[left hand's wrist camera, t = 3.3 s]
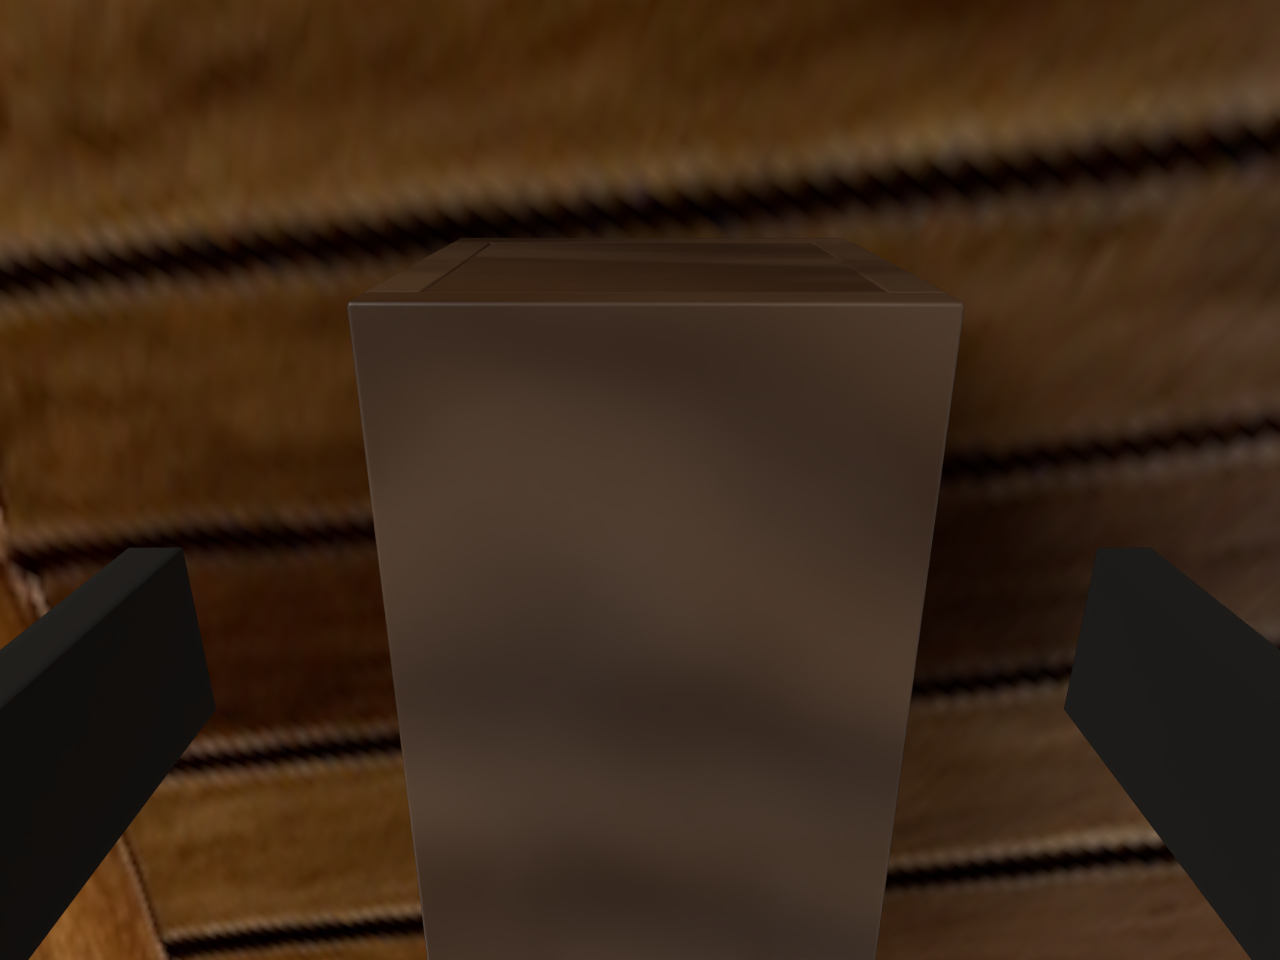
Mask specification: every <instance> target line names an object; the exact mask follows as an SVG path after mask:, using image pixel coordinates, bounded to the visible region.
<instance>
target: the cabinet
mask: <svg viewBox="0 0 1280 960" xmlns="http://www.w3.org/2000/svg"><path fill="white" fill-rule="evenodd" d="M347 309H348V317H349V325H350V333H351V341H352V350H353V358H354V366H355V374H356V382H357V390H358V398H359V406H360V414H361V423H362V431H363V439H364V447H365V455H366V463H367V471H368V479H369V488H370V496H371V504H372V512H373V520H374V528H375V536H376V544H377V552H378V561H379V569H380V577H381V585H382V593H383V601H384V609H385V617H386V626H387V634H388V642H389V650H390V658H391V666H392V674H393V682H394V690H395V699H396V707H397V715H398V723H399V731H400V739H401V747H402V755H403V764H404V772H405V780H406V788H407V796H408V804H409V812H410V820H411V828H412V837H413V845H414V853H415V861H416V869H417V877H418V885H419V893H420V901H421V910H422V918H423V926H424V934H425V942H426V950H427V958H428V960H875V958H876V951H877V943H878V936H879V929H880V921H881V914H882V907H883V899H884V892H885V885H886V877H887V870H888V863H889V855H890V848H891V841H892V833H893V826H894V819H895V811H896V804H897V797H898V789H899V782H900V775H901V767H902V760H903V753H904V745H905V738H906V731H907V723H908V716H909V709H910V701H911V694H912V687H913V679H914V672H915V664H916V657H917V650H918V642H919V635H920V628H921V620H922V613H923V606H924V598H925V591H926V584H927V576H928V569H929V562H930V554H931V547H932V540H933V532H934V525H935V518H936V510H937V503H938V496H939V488H940V481H941V474H942V466H943V459H944V452H945V444H946V437H947V430H948V422H949V415H950V408H951V400H952V393H953V386H954V378H955V371H956V364H957V356H958V349H959V342H960V334H961V327H962V320H963V312H964V304H963V302H961V301H959V300H957V299H955V298H953V297H951V296H950V295H948V294H946V293H945V292H944V291H942V290H940V289H938V288H937V287H935V286H933V285H931V284H929V283H927V282H925V281H923V280H922V279H920V278H918V277H916V276H914V275H912V274H910V273H908V272H907V271H905V270H903V269H901V268H899V267H897V266H895V265H893V264H892V263H890V262H888V261H886V260H884V259H882V258H880V257H879V256H877V255H875V254H873V253H871V252H869V251H867V250H865V249H864V248H862V247H860V246H858V245H856V244H854V243H852V242H850V241H848V240H846V239H844V238H461V239H459V240H457V241H455V242H454V243H451V244H450V245H448V246H446V247H444V248H443V249H441V250H439V251H437V252H435V253H434V254H432V255H430V256H428V257H426V258H425V259H423V260H421V261H419V262H417V263H416V264H414V265H412V266H410V267H408V268H407V269H405V270H403V271H401V272H399V273H398V274H396V275H394V276H392V277H390V278H389V279H387V280H385V281H383V282H382V283H380V284H378V285H376V286H374V287H373V288H371V289H369V290H367V291H365V293H363V294H361V295H360V296H358V297H356V298H354V299H352V300H351V301H349V302H348V304H347Z"/></svg>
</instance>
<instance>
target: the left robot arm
mask: <svg viewBox="0 0 1280 960" xmlns="http://www.w3.org/2000/svg"><path fill="white" fill-rule="evenodd" d="M215 710H216V707H215V702H214V697H213V693H212V688H211V683H210V678H209V673H208V669H207V664H206V659H205V654H204V649H203V645H202V640H201V635H200V630H199V625H198V621H197V616H196V611H195V606H194V601H193V597H192V592H191V587H190V582H189V577H188V573H187V568H186V563H185V558H184V553H183V549H182V548H128V549H127V550H126V551H124V552H123V553H122V554H121V555H119V556H118V557H117V558H116V559H114V560H113V561H112V562H111V563H109V564H108V565H107V566H105V567H104V568H103V569H102V570H100V571H99V572H98V573H97V574H95V575H94V576H93V577H92V578H90V579H89V580H88V581H87V582H85V583H84V584H83V585H82V586H80V587H79V588H78V589H76V590H75V591H74V592H73V593H71V594H70V595H69V596H68V597H66V598H65V599H64V600H63V601H61V602H60V603H59V604H58V605H56V606H55V607H54V608H53V609H51V610H50V611H49V612H47V613H46V614H45V615H44V616H42V617H41V618H40V619H39V620H37V621H36V622H35V623H34V624H32V625H31V626H30V627H29V628H27V629H26V630H25V631H24V632H22V633H21V634H20V635H18V636H17V637H16V638H15V639H13V640H12V641H11V642H10V643H8V644H7V645H6V646H5V647H3V648H2V649H1V650H0V960H29V958H30V957H31V956H32V954H33V953H34V952H35V950H36V949H37V948H38V946H39V945H40V944H41V942H42V941H43V940H44V938H45V937H46V935H47V934H48V933H49V931H50V930H51V929H52V927H53V926H54V925H55V923H56V922H57V921H58V919H59V918H60V917H61V915H62V914H63V913H64V911H65V910H66V909H67V907H68V906H69V905H70V903H71V902H72V901H73V899H74V898H75V897H76V895H77V894H78V893H79V891H80V890H81V889H82V887H83V886H84V885H85V883H86V882H87V881H88V879H89V878H90V877H91V875H92V874H93V873H94V871H95V870H96V869H97V867H98V866H99V865H100V863H101V862H102V861H103V859H104V858H105V857H106V855H107V854H108V853H109V851H110V850H111V849H112V847H113V846H114V845H115V843H116V842H117V841H118V839H119V838H120V837H121V835H122V834H123V833H124V831H125V830H126V829H127V827H128V826H129V825H130V823H131V822H132V821H133V819H134V818H135V817H136V815H137V814H138V813H139V811H140V810H141V809H142V807H143V806H144V805H145V803H146V802H147V801H148V799H149V798H150V797H151V795H152V794H153V793H154V791H155V790H156V789H157V787H158V786H159V785H160V783H161V782H162V781H163V779H164V778H165V777H166V775H167V774H168V773H169V771H170V770H171V768H172V767H173V766H174V764H175V763H176V762H177V760H178V759H179V758H180V756H181V755H182V754H183V752H184V751H185V750H186V748H187V747H188V746H189V744H190V743H191V742H192V740H193V739H194V738H195V736H196V735H197V734H198V732H199V731H200V730H201V728H202V727H203V726H204V724H205V723H206V722H207V720H208V719H209V718H210V716H211V715H212V714H213V712H214V711H215ZM1064 710H1065V711H1066V712H1067V714H1068V715H1069V716H1070V718H1071V719H1072V720H1073V722H1074V723H1075V724H1076V726H1077V727H1078V728H1079V730H1080V731H1081V732H1082V734H1083V735H1084V736H1085V738H1086V739H1087V740H1088V742H1089V743H1090V744H1091V746H1092V747H1093V748H1094V750H1095V751H1096V752H1097V754H1098V755H1099V756H1100V758H1101V759H1102V760H1103V762H1104V763H1105V764H1106V766H1107V767H1108V768H1109V770H1110V771H1111V773H1112V774H1113V775H1114V777H1115V778H1116V779H1117V781H1118V782H1119V783H1120V785H1121V786H1122V787H1123V789H1124V790H1125V791H1126V793H1127V794H1128V795H1129V797H1130V798H1131V799H1132V801H1133V802H1134V803H1135V805H1136V806H1137V807H1138V809H1139V810H1140V811H1141V813H1142V814H1143V815H1144V817H1145V818H1146V819H1147V821H1148V822H1149V823H1150V825H1151V826H1152V827H1153V829H1154V830H1155V831H1156V833H1157V834H1158V835H1159V837H1160V838H1161V839H1162V841H1163V842H1164V843H1165V845H1166V846H1167V847H1168V849H1169V850H1170V851H1171V853H1172V854H1173V855H1174V857H1175V858H1176V859H1177V861H1178V862H1179V863H1180V865H1181V866H1182V867H1183V869H1184V870H1185V871H1186V873H1187V874H1188V875H1189V877H1190V878H1191V879H1192V881H1193V882H1194V883H1195V885H1196V886H1197V887H1198V889H1199V890H1200V891H1201V893H1202V894H1203V895H1204V897H1205V898H1206V899H1207V901H1208V902H1209V903H1210V905H1211V906H1212V907H1213V909H1214V910H1215V911H1216V913H1217V914H1218V915H1219V917H1220V918H1221V919H1222V921H1223V922H1224V923H1225V925H1226V926H1227V927H1228V929H1229V930H1230V931H1231V933H1232V934H1233V936H1234V937H1235V938H1236V940H1237V941H1238V942H1239V944H1240V945H1241V946H1242V948H1243V949H1244V950H1245V952H1246V953H1247V954H1248V956H1249V957H1250V958H1251V960H1280V650H1279V649H1278V648H1277V647H1275V646H1274V645H1273V644H1272V643H1270V642H1269V641H1268V640H1267V639H1265V638H1264V637H1263V636H1262V635H1260V634H1259V633H1258V632H1256V631H1255V630H1254V629H1253V628H1251V627H1250V626H1249V625H1248V624H1246V623H1245V622H1244V621H1243V620H1241V619H1240V618H1239V617H1238V616H1236V615H1235V614H1234V613H1233V612H1231V611H1230V610H1229V609H1227V608H1226V607H1225V606H1224V605H1222V604H1221V603H1220V602H1219V601H1217V600H1216V599H1215V598H1214V597H1212V596H1211V595H1210V594H1209V593H1207V592H1206V591H1205V590H1204V589H1202V588H1201V587H1200V586H1198V585H1197V584H1196V583H1195V582H1193V581H1192V580H1191V579H1190V578H1188V577H1187V576H1186V575H1185V574H1183V573H1182V572H1181V571H1180V570H1178V569H1177V568H1176V567H1175V566H1173V565H1172V564H1171V563H1169V562H1168V561H1167V560H1166V559H1164V558H1163V557H1162V556H1161V555H1159V554H1158V553H1157V552H1156V551H1154V550H1153V549H1152V548H1098V549H1097V553H1096V558H1095V563H1094V568H1093V573H1092V577H1091V582H1090V587H1089V592H1088V597H1087V601H1086V606H1085V611H1084V616H1083V621H1082V625H1081V630H1080V635H1079V640H1078V645H1077V649H1076V654H1075V659H1074V664H1073V669H1072V673H1071V678H1070V683H1069V688H1068V692H1067V697H1066V702H1065V707H1064Z"/></svg>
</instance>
